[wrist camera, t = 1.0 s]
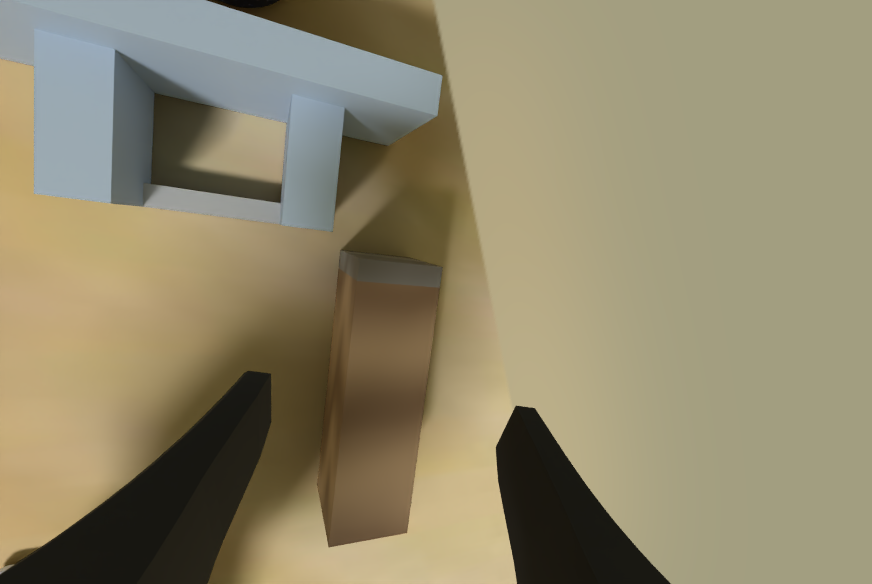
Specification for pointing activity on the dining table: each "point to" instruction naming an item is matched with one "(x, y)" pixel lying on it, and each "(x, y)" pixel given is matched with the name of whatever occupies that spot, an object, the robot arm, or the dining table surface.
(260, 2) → the beverage can
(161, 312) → the dining table surface
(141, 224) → the dining table surface
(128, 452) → the dining table surface
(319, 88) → the pale blue bench
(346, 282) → the brown wooden block
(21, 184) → the dining table surface
